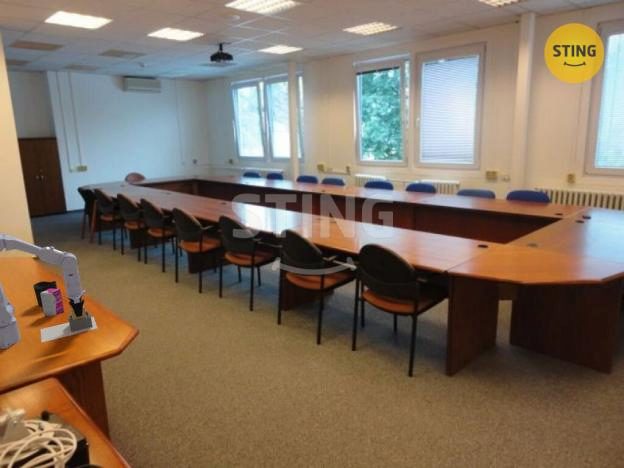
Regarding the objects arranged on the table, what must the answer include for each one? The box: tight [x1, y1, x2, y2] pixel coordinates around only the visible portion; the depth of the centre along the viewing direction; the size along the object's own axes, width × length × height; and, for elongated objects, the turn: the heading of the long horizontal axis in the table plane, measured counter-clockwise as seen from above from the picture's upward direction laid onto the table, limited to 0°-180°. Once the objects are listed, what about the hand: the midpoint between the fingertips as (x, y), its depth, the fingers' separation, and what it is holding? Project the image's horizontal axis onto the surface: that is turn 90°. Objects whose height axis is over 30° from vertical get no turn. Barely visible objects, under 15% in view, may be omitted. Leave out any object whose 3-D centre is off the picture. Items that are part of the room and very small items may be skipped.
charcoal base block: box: [67, 310, 93, 332], centre depth 183 cm, size 8×8×4 cm
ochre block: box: [69, 303, 86, 321], centre depth 182 cm, size 5×5×5 cm
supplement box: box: [40, 288, 65, 318], centre depth 198 cm, size 6×6×12 cm
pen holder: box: [32, 280, 58, 307], centre depth 211 cm, size 9×9×10 cm
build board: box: [40, 316, 98, 344], centre depth 182 cm, size 20×14×1 cm
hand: (78, 313), depth 182 cm, fingers open, 6 cm apart
